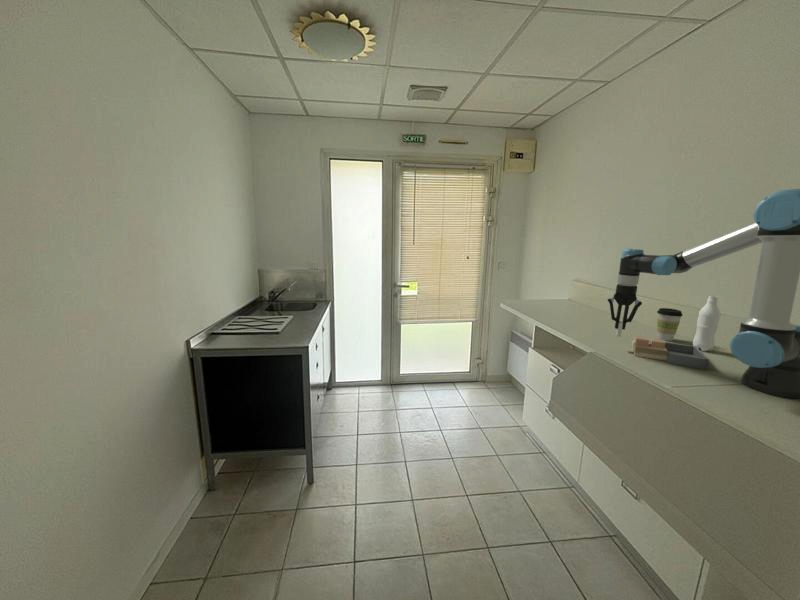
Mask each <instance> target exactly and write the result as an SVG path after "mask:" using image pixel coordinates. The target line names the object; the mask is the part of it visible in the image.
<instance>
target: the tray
mask: <svg viewBox="0 0 800 600" xmlns="http://www.w3.org/2000/svg"><path fill="white" fill-rule="evenodd" d="M664 342H665V348H666V349H667V351H668V356H667V361H666V362H667V364H670V365H677V366H683V367H688V368H696V369H700V370H701V369H702V370H707V369H708V366H709V363H710V362H709V361H710V359H708V357H707V356H706V355H705V354H704V353H703V351H702V350H700V349H698V348H697V347H696V346H693V345H689V344H681V343H674V342H670V341H664Z"/></svg>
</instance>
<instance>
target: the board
mask: <svg viewBox="0 0 800 600" xmlns="http://www.w3.org/2000/svg"><path fill="white" fill-rule="evenodd" d="M634 341H635V338H632V341H631V347H630V348H631V350H632V353H633V355H634V356H636V357H640V358H648V359H653V360H659V361H665V362H667V356H668V351H667V349H666V348H665V347H664V349H663V348H656V347H651V346H650V341H649V345H648V346H643V345H636V344H635V342H634Z"/></svg>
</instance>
